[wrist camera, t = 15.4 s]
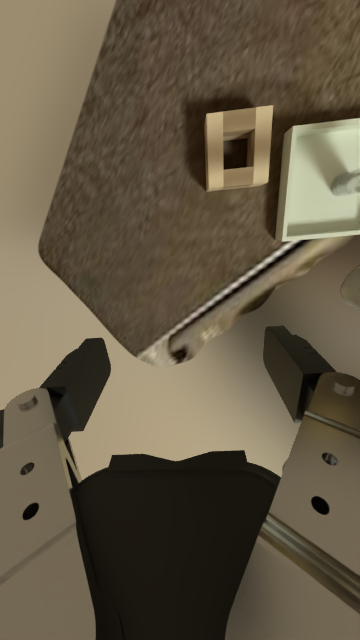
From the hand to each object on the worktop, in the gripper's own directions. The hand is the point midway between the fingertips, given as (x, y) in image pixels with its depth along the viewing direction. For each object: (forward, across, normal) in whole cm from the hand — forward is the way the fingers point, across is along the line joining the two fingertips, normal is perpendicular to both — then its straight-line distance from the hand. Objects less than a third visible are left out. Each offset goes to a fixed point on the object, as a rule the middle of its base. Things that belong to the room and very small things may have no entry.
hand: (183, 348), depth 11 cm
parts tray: (+30, -22, -8) cm, 38 cm away
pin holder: (+30, -8, -13) cm, 34 cm away
